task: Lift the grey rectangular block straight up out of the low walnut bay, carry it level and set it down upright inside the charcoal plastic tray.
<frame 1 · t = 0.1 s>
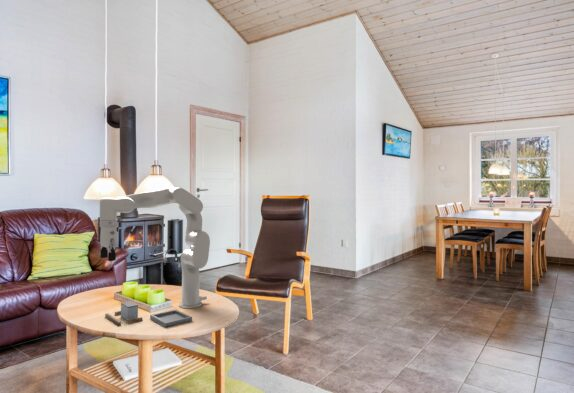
hand: (107, 259, 195), 31 cm above the table, tool pointing down, fingers open, 9 cm apart
tray: (171, 319, 202), on the table
grey rectangular block: (129, 310, 204), in the bay
bay: (129, 317, 204), on the table
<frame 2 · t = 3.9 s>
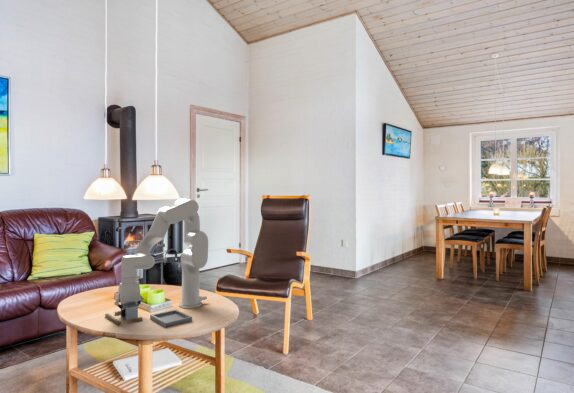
hand: (129, 315, 204), 1 cm above the table, tool pointing down, fingers closed on grey rectangular block, 5 cm apart
grey rectangular block: (129, 310, 204), in the bay, touching gripper
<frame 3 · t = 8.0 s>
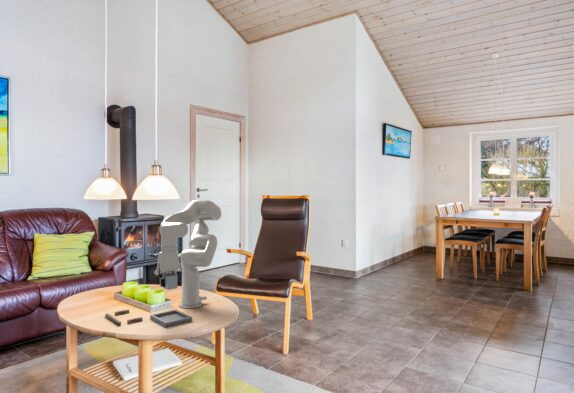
hand: (168, 285, 201), 17 cm above the table, tool pointing down, fingers closed on grey rectangular block, 5 cm apart
grey rectangular block: (168, 280, 201), point 20 cm above the table, touching gripper
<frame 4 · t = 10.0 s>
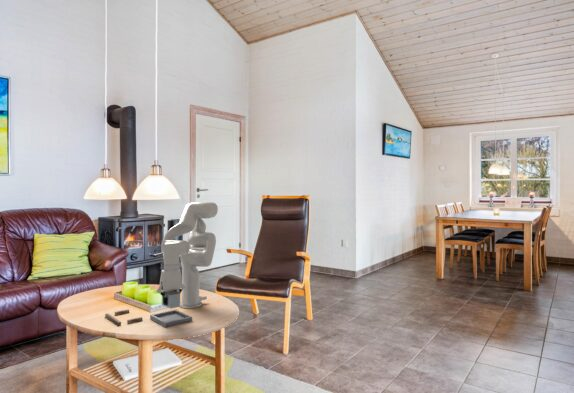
hand: (170, 303, 201), 8 cm above the table, tool pointing down, fingers closed on grey rectangular block, 5 cm apart
grey rectangular block: (171, 298, 201), point 11 cm above the table, touching gripper
when the fingers open (3 cm above the table, at t = 11.9 s): grey rectangular block drops 1 cm, resting on tray.
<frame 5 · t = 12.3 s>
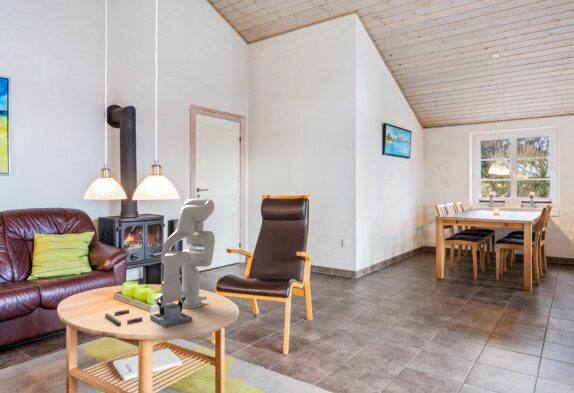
hand: (171, 312, 201), 4 cm above the table, tool pointing down, fingers open, 9 cm apart
grey rectangular block: (171, 311, 201), in the tray, point 4 cm above the table
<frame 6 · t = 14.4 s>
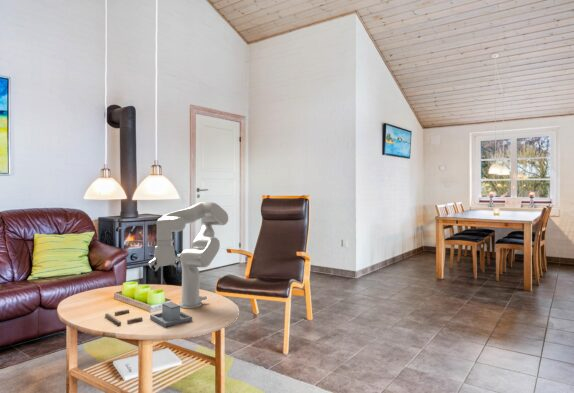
hand: (165, 276, 206), 21 cm above the table, tool pointing down, fingers open, 9 cm apart
nothing on the table moved.
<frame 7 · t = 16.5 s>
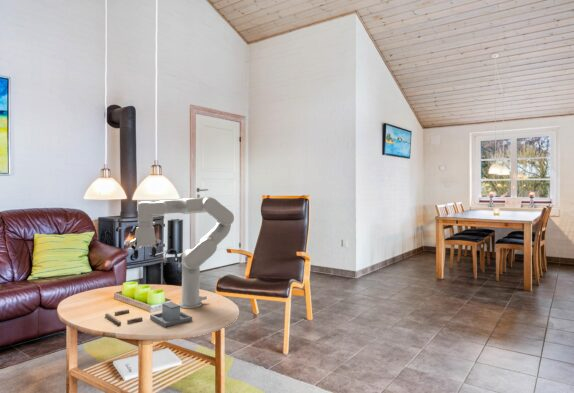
hand: (145, 256, 218), 28 cm above the table, tool pointing down, fingers open, 9 cm apart
nothing on the table moved.
at the end: grey rectangular block inside the target area on the tray (0.0 cm from its centre), point 4.1 cm above the tray's base; grey rectangular block tilted 0°; the gripper is holding nothing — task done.
